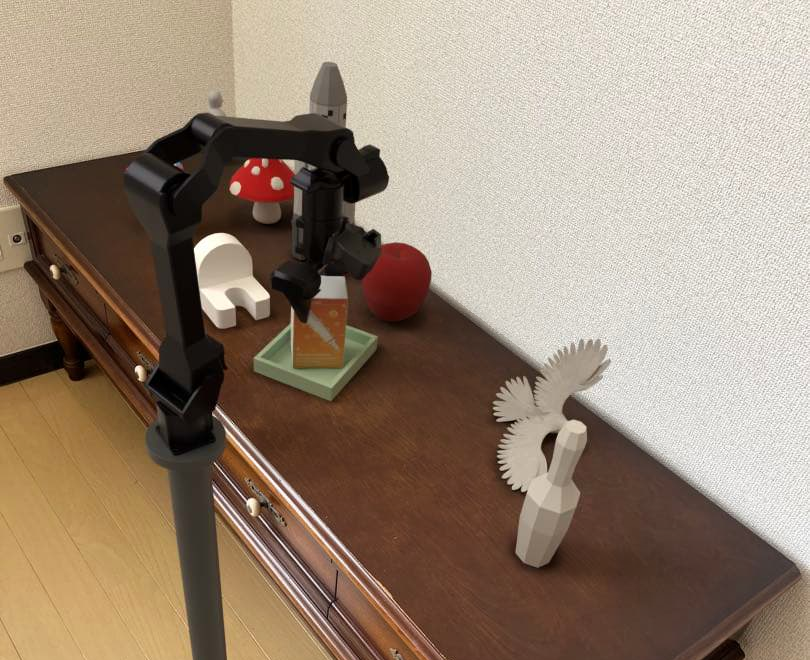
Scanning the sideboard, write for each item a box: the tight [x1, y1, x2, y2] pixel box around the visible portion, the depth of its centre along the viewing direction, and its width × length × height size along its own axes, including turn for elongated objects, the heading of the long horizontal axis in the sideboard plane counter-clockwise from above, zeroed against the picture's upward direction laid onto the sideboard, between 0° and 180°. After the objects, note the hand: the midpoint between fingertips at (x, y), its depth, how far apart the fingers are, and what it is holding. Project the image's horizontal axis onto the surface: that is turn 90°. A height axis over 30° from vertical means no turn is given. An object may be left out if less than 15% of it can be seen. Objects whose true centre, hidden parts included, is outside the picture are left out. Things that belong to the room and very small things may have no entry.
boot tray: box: [253, 322, 379, 402], centre depth 130 cm, size 16×14×3 cm
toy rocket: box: [290, 61, 357, 276], centre depth 140 cm, size 12×9×35 cm
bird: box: [492, 338, 612, 493], centre depth 120 cm, size 21×16×15 cm
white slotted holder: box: [194, 232, 271, 330], centre depth 137 cm, size 10×18×11 cm, turn 34°
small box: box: [290, 275, 349, 368], centre depth 126 cm, size 8×6×13 cm
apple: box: [361, 241, 433, 323], centre depth 137 cm, size 12×12×13 cm
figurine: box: [204, 89, 227, 117], centre depth 172 cm, size 9×4×15 cm, turn 42°
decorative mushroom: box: [229, 158, 294, 225], centre depth 156 cm, size 14×14×15 cm
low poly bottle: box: [515, 419, 588, 569], centre depth 99 cm, size 6×6×22 cm
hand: (318, 307), depth 124 cm, fingers open, 9 cm apart
